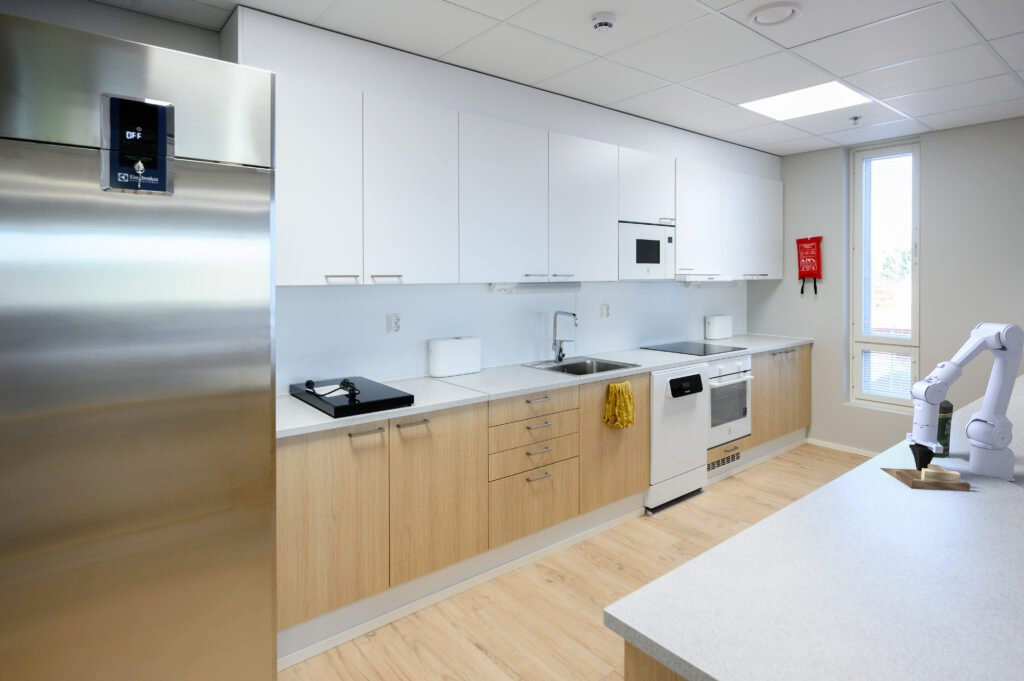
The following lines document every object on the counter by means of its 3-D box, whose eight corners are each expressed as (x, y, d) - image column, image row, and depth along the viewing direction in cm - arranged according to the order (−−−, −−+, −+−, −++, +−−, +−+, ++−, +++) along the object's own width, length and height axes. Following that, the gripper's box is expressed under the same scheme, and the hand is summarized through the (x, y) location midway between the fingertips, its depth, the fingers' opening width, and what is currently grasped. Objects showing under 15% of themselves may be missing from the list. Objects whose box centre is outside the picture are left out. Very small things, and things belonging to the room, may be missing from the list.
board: (931, 474, 167) (932, 463, 166) (969, 495, 150) (970, 483, 150) (879, 471, 169) (879, 461, 168) (911, 492, 152) (911, 481, 151)
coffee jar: (940, 462, 177) (945, 403, 175) (911, 456, 184) (915, 399, 182) (953, 457, 182) (957, 400, 181) (924, 451, 189) (928, 395, 187)
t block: (949, 478, 160) (950, 466, 159) (959, 487, 153) (960, 474, 152) (915, 474, 162) (916, 462, 162) (923, 483, 155) (924, 471, 155)
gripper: (896, 417, 170) (893, 462, 171) (924, 429, 156) (920, 478, 157) (922, 418, 169) (919, 463, 170) (953, 430, 155) (949, 479, 156)
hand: (921, 470), depth 164 cm, fingers closed
